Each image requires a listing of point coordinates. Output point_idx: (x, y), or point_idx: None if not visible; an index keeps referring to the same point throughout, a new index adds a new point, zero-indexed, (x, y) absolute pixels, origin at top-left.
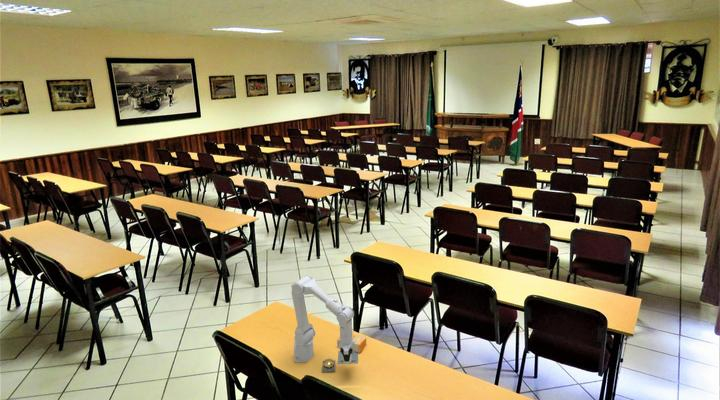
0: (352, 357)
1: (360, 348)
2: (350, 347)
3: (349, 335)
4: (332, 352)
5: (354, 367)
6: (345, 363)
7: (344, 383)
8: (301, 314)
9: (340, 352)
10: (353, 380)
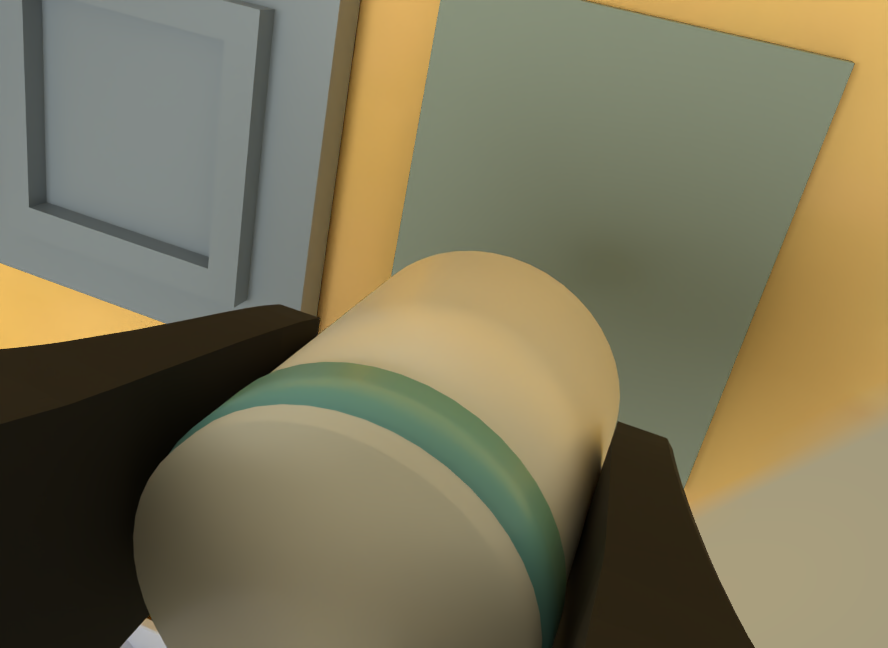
0: (151, 36)
1: None
2: (76, 406)
3: None
4: (6, 333)
5: (422, 51)
6: (304, 226)
7: (854, 390)
8: None
9: (15, 232)
10: (842, 182)
